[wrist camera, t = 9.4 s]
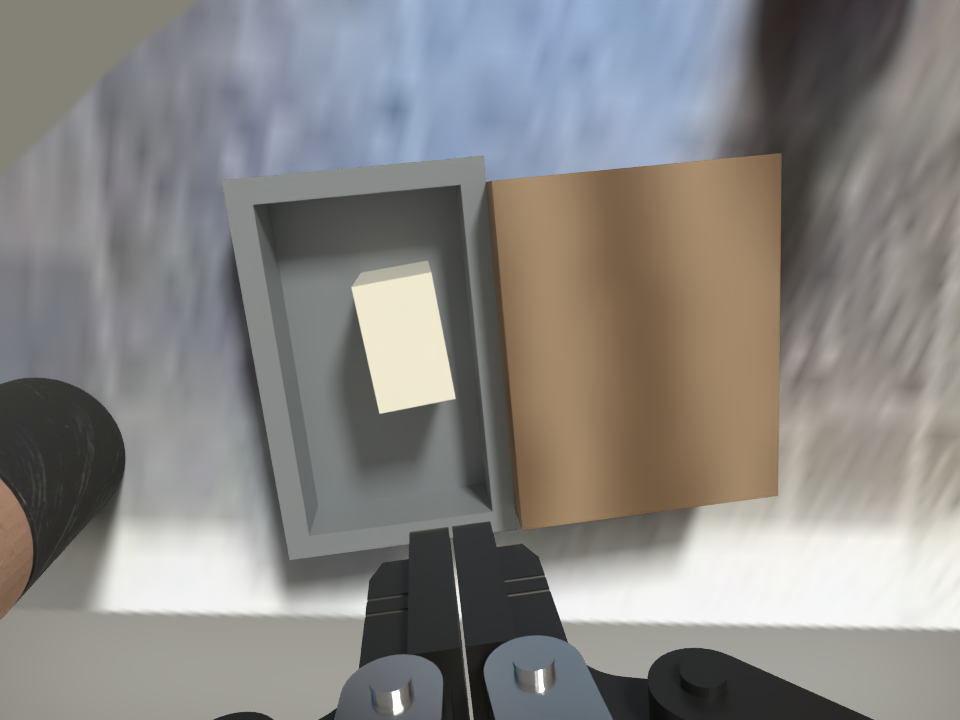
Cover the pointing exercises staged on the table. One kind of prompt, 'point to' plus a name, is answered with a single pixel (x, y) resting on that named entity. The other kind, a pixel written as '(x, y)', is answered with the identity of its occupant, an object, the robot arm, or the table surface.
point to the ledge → (639, 336)
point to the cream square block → (403, 336)
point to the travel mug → (50, 475)
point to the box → (343, 361)
